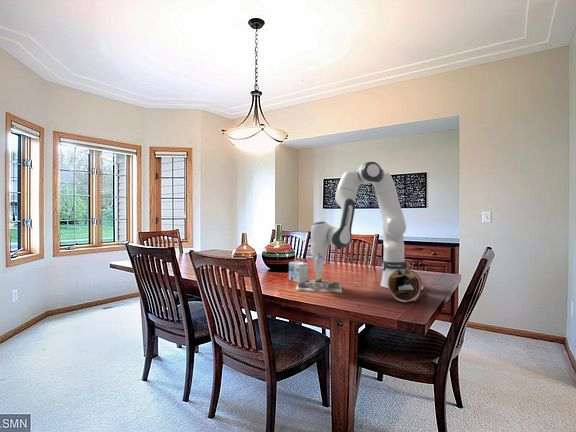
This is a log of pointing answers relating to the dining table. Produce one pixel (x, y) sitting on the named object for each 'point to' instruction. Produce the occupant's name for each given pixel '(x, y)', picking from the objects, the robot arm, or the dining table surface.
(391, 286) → the clay pot
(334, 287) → the chain ends board
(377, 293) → the dining table surface
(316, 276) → the brass pin
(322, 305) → the dining table surface
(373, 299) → the dining table surface
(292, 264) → the light bulb box
